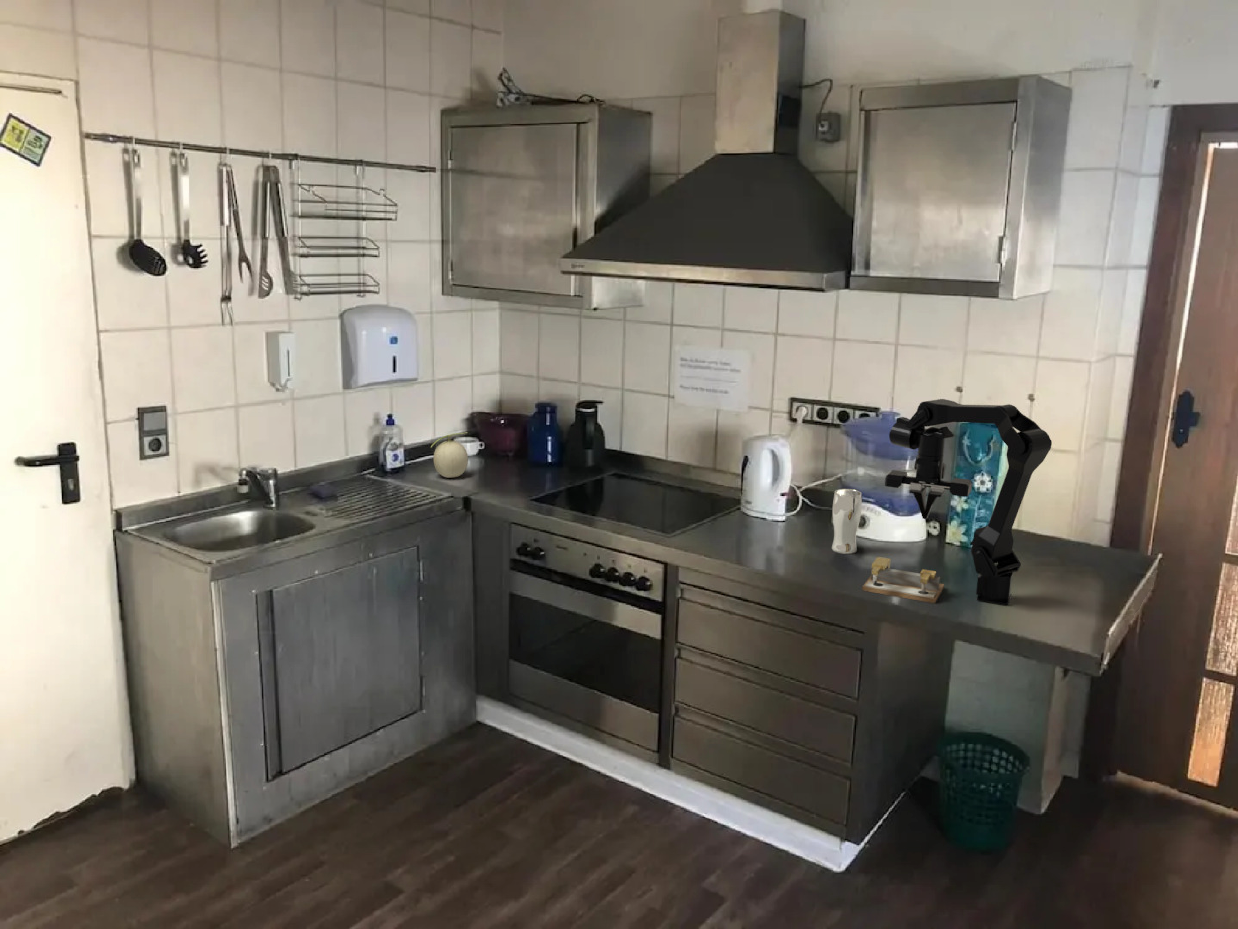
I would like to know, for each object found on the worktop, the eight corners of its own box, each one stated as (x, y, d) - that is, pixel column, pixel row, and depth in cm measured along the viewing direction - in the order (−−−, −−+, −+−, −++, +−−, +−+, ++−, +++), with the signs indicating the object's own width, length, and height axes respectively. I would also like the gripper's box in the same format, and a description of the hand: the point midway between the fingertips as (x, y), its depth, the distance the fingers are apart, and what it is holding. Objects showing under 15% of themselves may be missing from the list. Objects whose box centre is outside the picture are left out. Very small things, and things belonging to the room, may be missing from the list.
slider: (889, 574, 238) (890, 559, 237) (880, 586, 230) (881, 570, 229) (876, 571, 239) (877, 556, 238) (867, 583, 232) (868, 568, 231)
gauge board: (943, 588, 233) (945, 568, 232) (935, 603, 224) (937, 582, 223) (873, 576, 240) (874, 556, 239) (862, 590, 231) (863, 570, 230)
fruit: (427, 474, 323) (425, 428, 319) (463, 471, 327) (462, 425, 324) (435, 483, 314) (433, 435, 310) (472, 479, 318) (471, 432, 314)
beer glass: (833, 543, 262) (836, 487, 258) (860, 547, 259) (864, 490, 256) (827, 552, 256) (831, 494, 252) (855, 556, 253) (859, 497, 249)
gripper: (978, 451, 239) (972, 515, 243) (897, 441, 247) (892, 504, 251) (970, 461, 230) (964, 528, 234) (886, 451, 238) (881, 516, 242)
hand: (924, 518), depth 240 cm, fingers closed
